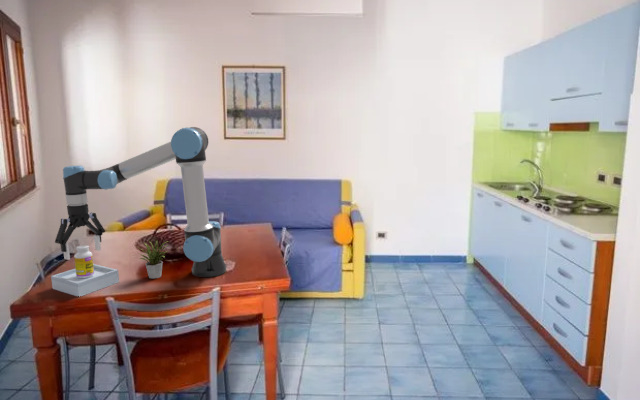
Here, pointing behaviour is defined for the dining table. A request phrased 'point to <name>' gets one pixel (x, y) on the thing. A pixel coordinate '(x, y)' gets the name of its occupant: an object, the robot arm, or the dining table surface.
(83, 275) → the supplement bottle
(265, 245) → the dining table surface
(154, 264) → the house plant
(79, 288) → the shallow open tray
